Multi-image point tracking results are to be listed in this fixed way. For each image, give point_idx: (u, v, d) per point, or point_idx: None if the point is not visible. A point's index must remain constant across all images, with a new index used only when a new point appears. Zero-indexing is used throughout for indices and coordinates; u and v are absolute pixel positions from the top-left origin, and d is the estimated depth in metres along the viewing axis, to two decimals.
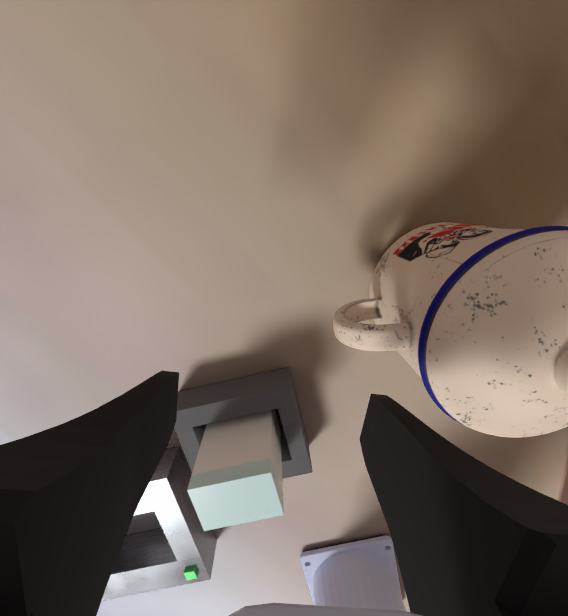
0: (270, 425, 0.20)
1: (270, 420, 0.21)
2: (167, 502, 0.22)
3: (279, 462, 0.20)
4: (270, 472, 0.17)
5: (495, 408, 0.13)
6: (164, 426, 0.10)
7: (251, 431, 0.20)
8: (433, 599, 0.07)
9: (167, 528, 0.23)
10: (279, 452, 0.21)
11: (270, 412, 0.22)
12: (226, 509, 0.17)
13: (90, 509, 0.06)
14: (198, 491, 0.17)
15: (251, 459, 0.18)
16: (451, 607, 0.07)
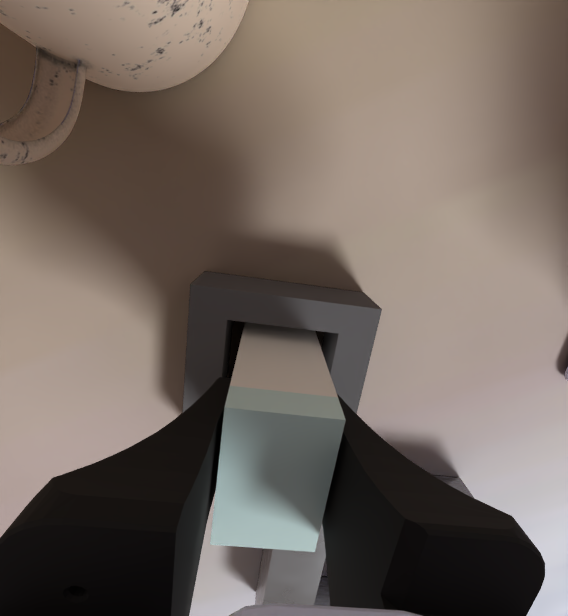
0: (240, 345, 0.11)
1: (241, 339, 0.12)
2: (321, 526, 0.14)
3: (306, 361, 0.11)
4: (227, 407, 0.08)
5: None
6: None
7: None
8: (344, 593, 0.07)
9: None
10: (305, 349, 0.12)
11: (243, 331, 0.13)
12: (282, 505, 0.09)
13: (196, 517, 0.06)
14: (220, 530, 0.09)
15: None
16: (354, 601, 0.06)
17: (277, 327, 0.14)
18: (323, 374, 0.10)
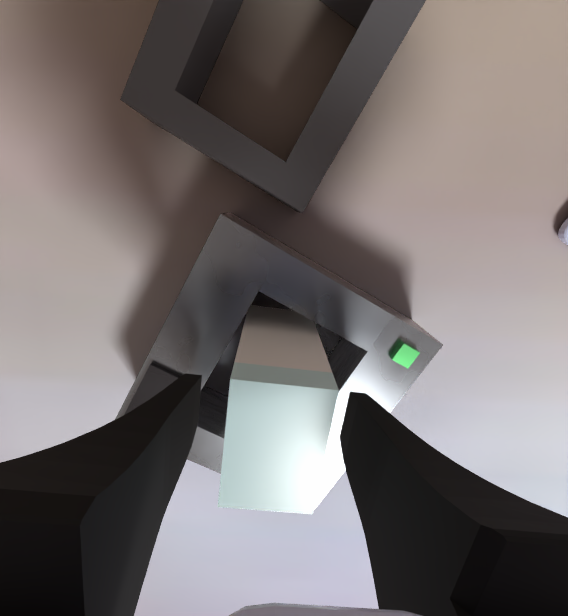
0: (243, 329, 0.12)
1: (244, 325, 0.13)
2: (261, 258, 0.12)
3: (304, 343, 0.12)
4: (232, 379, 0.09)
5: None
6: (189, 429, 0.11)
7: None
8: (398, 597, 0.07)
9: (303, 305, 0.12)
10: (303, 334, 0.13)
11: (246, 318, 0.14)
12: (282, 470, 0.10)
13: (133, 512, 0.06)
14: (226, 493, 0.10)
15: None
16: (413, 605, 0.07)
17: (277, 315, 0.14)
18: (319, 354, 0.11)
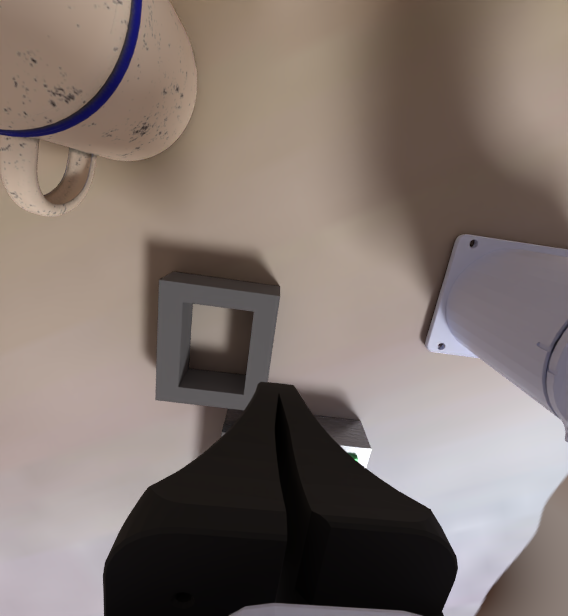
0: None
1: None
2: None
3: None
4: None
5: (28, 47, 0.09)
6: None
7: None
8: (278, 589, 0.07)
9: None
10: None
11: None
12: None
13: None
14: None
15: None
16: (282, 597, 0.06)
17: None
18: None
